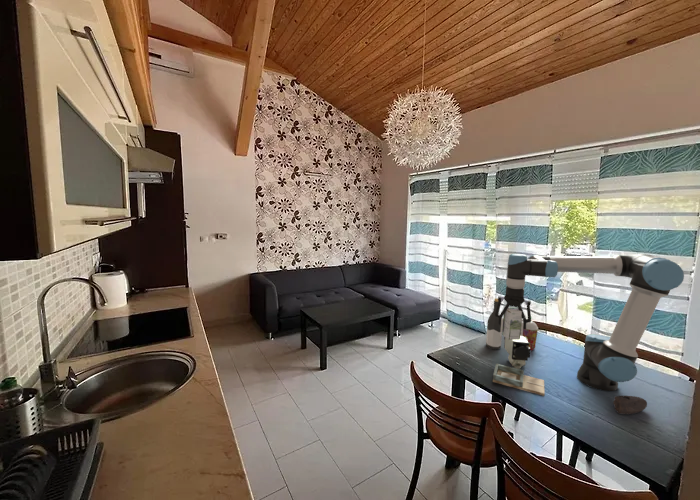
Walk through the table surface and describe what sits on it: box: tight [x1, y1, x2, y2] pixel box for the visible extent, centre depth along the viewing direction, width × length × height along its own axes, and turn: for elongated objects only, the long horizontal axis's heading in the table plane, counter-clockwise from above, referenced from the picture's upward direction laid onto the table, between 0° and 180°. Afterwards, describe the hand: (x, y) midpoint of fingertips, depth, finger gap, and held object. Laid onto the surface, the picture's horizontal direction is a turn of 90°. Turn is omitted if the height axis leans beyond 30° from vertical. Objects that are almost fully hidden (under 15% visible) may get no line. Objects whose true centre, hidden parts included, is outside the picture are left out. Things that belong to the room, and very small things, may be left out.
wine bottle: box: [485, 297, 503, 350], centre depth 179 cm, size 8×8×30 cm
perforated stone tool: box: [612, 395, 648, 415], centre depth 122 cm, size 15×5×7 cm, turn 96°
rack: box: [492, 363, 546, 397], centre depth 143 cm, size 21×12×4 cm, turn 58°
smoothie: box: [522, 320, 539, 352], centre depth 177 cm, size 8×8×20 cm
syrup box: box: [502, 306, 523, 340], centre depth 142 cm, size 6×6×14 cm
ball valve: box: [503, 335, 531, 370], centre depth 158 cm, size 18×8×18 cm, turn 168°
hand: (511, 333), depth 143 cm, fingers closed on syrup box, 8 cm apart
